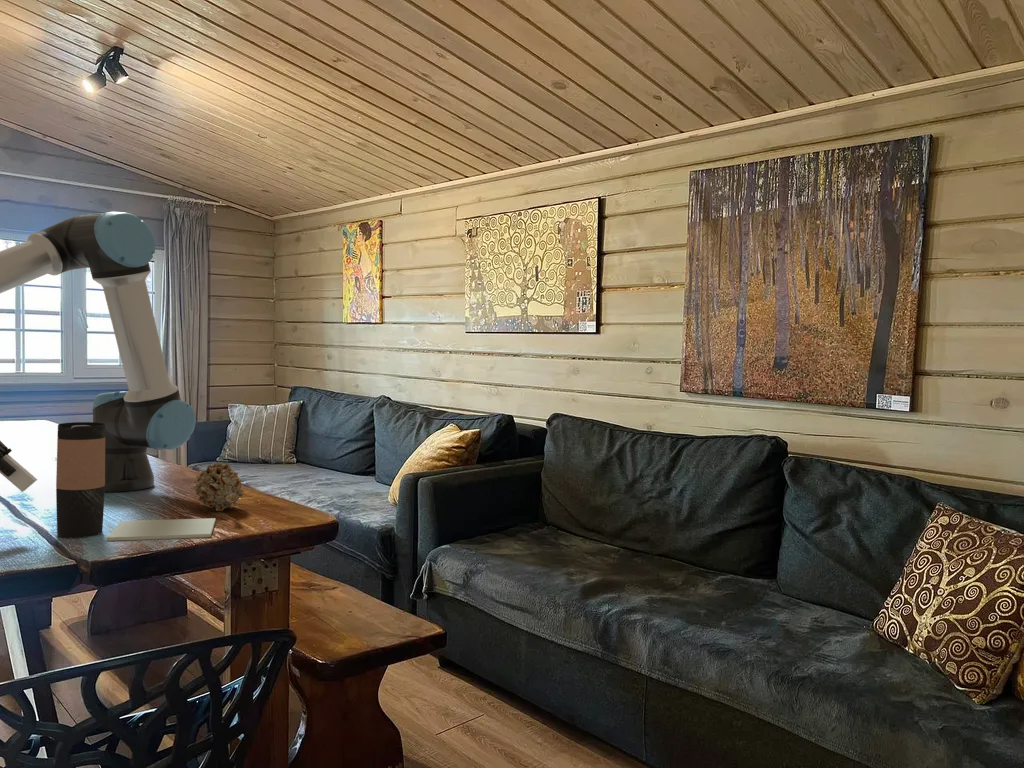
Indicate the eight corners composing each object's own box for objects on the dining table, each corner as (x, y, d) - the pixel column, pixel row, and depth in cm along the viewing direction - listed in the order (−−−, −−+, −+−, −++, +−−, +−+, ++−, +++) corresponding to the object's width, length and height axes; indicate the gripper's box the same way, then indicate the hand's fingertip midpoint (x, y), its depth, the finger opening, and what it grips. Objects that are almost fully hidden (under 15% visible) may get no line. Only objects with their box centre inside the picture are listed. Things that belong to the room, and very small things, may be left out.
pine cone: (185, 504, 161) (186, 459, 161) (230, 500, 167) (231, 457, 166) (214, 525, 143) (215, 475, 143) (263, 520, 149) (264, 471, 149)
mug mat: (106, 540, 129) (106, 537, 129) (120, 524, 142) (120, 521, 142) (210, 536, 135) (210, 533, 135) (215, 521, 147) (215, 518, 147)
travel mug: (100, 526, 139) (102, 421, 138) (107, 535, 133) (109, 425, 132) (53, 531, 134) (55, 422, 134) (57, 540, 128) (59, 426, 128)
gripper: (-83, 402, 130) (24, 493, 136) (-121, 408, 118) (-1, 508, 124) (-47, 373, 132) (57, 465, 137) (-81, 376, 119) (35, 476, 125)
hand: (29, 485), depth 131 cm, fingers closed
